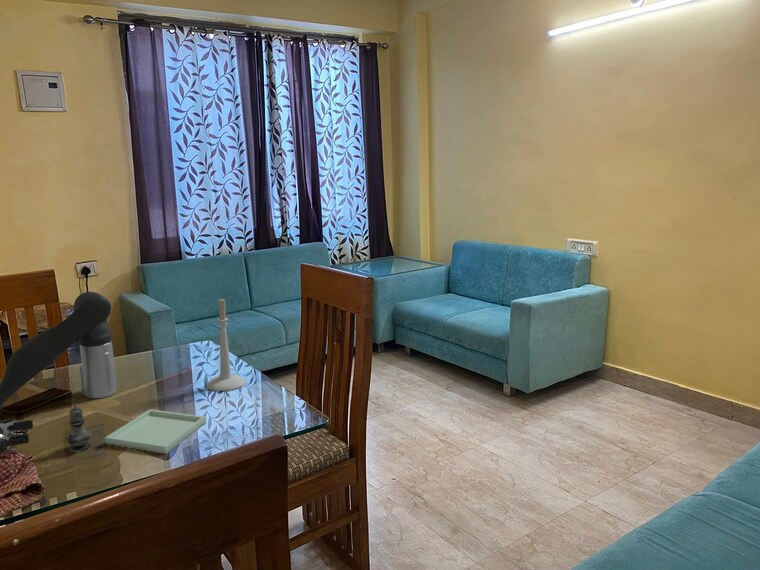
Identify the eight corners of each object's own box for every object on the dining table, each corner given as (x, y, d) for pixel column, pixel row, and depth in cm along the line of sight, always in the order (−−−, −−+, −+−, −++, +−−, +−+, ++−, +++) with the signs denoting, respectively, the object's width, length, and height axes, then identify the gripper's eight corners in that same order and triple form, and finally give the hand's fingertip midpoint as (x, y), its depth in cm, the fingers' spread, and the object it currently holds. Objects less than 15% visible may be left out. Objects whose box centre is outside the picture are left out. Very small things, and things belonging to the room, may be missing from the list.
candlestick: (252, 380, 197) (249, 295, 191) (231, 393, 185) (227, 304, 179) (221, 375, 201) (216, 292, 195) (198, 388, 189) (192, 300, 183)
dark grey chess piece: (81, 454, 146) (76, 410, 143) (61, 452, 147) (56, 408, 145) (97, 443, 152) (92, 401, 149) (78, 441, 153) (73, 399, 150)
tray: (105, 444, 151) (104, 437, 151) (150, 415, 169) (149, 409, 168) (166, 453, 146) (165, 446, 146) (206, 423, 164) (205, 416, 163)
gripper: (-39, 444, 144) (35, 433, 151) (-53, 471, 131) (29, 457, 138) (-43, 417, 142) (32, 406, 149) (-58, 441, 130) (25, 428, 136)
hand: (30, 431), depth 143 cm, fingers open, 8 cm apart
